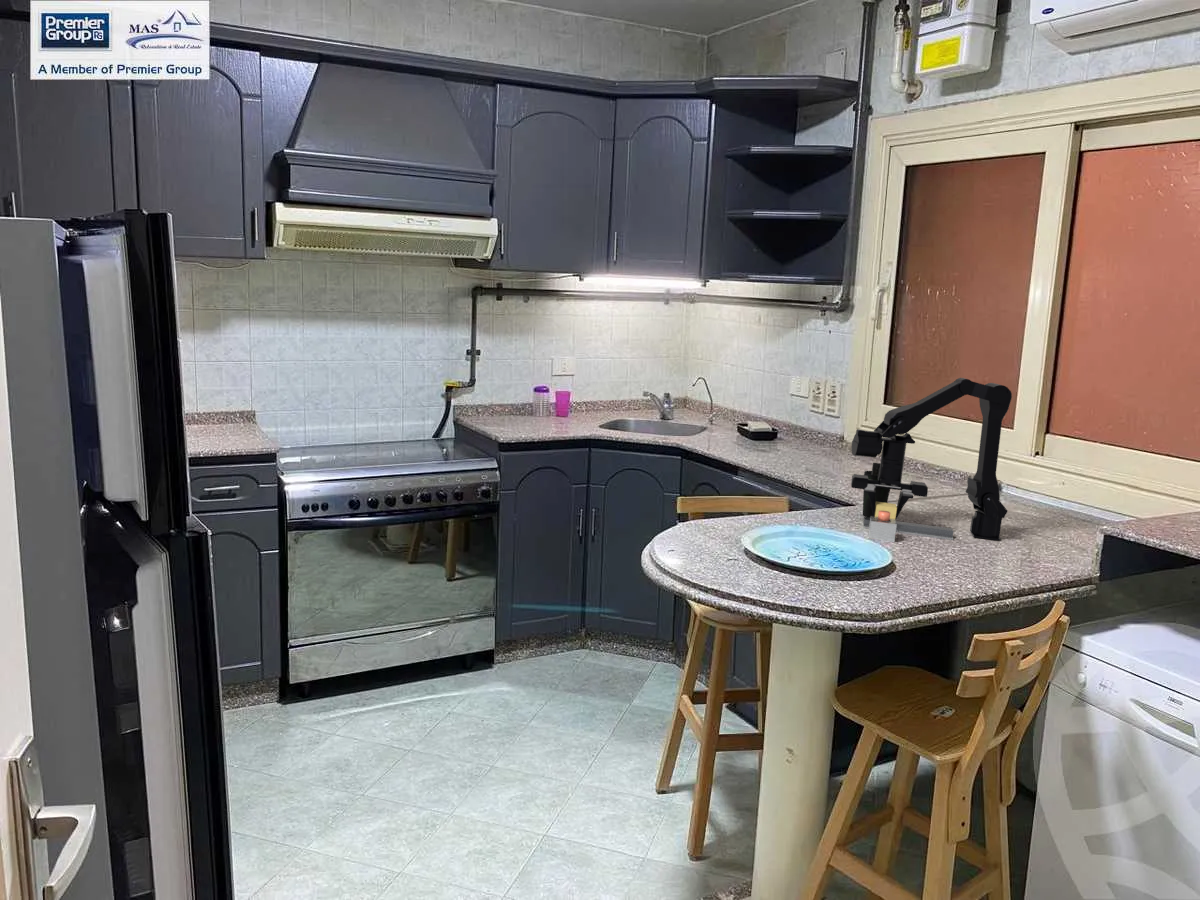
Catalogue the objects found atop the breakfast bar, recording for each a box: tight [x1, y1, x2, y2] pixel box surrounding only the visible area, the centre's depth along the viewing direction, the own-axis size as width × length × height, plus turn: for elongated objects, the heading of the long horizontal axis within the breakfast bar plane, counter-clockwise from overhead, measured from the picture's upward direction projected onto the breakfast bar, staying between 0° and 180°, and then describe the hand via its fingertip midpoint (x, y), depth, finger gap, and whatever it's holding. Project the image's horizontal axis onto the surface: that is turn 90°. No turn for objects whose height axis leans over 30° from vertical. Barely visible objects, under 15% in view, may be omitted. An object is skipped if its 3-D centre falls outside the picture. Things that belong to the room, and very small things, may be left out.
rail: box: [862, 516, 954, 541], centre depth 243 cm, size 22×6×2 cm, turn 76°
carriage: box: [875, 502, 897, 520], centre depth 243 cm, size 5×5×5 cm
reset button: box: [878, 511, 890, 521], centre depth 233 cm, size 3×3×2 cm
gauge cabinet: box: [868, 516, 897, 543], centre depth 233 cm, size 6×6×4 cm
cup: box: [862, 470, 891, 518], centre depth 256 cm, size 8×8×12 cm
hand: (884, 517), depth 244 cm, fingers closed on carriage, 5 cm apart
